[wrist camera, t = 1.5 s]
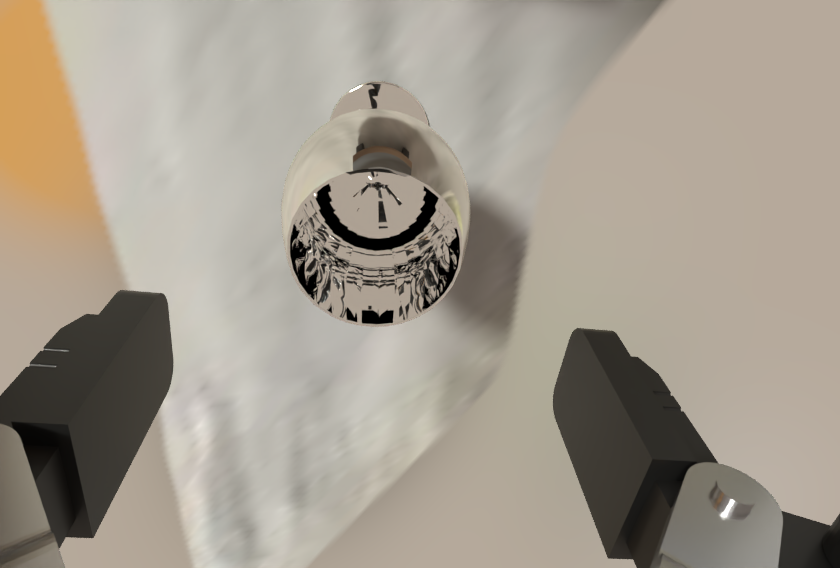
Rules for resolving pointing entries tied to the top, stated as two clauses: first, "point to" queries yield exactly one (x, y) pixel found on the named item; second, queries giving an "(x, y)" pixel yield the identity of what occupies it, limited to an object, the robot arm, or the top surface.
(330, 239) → the wineglass
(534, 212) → the top surface
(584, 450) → the robot arm
